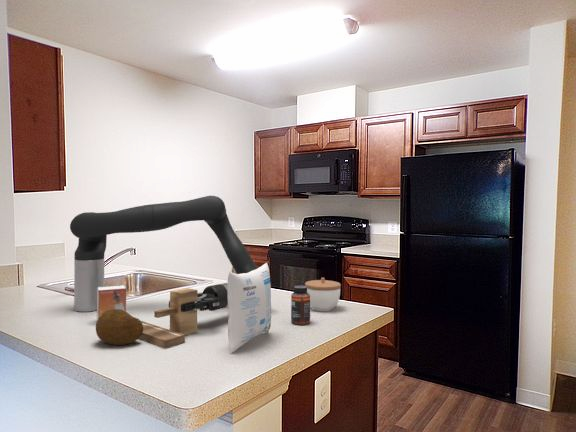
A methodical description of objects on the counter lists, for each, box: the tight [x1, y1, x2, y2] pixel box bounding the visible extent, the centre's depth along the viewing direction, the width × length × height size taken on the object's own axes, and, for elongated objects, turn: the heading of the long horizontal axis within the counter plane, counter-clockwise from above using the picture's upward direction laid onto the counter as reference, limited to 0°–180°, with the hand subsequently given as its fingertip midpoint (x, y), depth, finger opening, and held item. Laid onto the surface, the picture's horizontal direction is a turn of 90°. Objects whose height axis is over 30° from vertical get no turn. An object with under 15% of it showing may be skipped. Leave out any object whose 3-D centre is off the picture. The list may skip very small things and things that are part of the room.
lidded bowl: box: [304, 277, 342, 312], centre depth 141 cm, size 13×13×11 cm
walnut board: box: [137, 320, 186, 350], centre depth 110 cm, size 26×6×2 cm, turn 53°
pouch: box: [227, 262, 272, 354], centre depth 105 cm, size 8×19×20 cm, turn 151°
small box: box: [96, 284, 127, 322], centre depth 123 cm, size 8×6×10 cm
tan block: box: [153, 287, 199, 336], centre depth 110 cm, size 4×12×12 cm, turn 143°
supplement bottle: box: [290, 285, 311, 326], centre depth 123 cm, size 6×6×11 cm
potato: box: [95, 309, 143, 346], centre depth 103 cm, size 8×12×9 cm
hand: (175, 306), depth 110 cm, fingers open, 5 cm apart
